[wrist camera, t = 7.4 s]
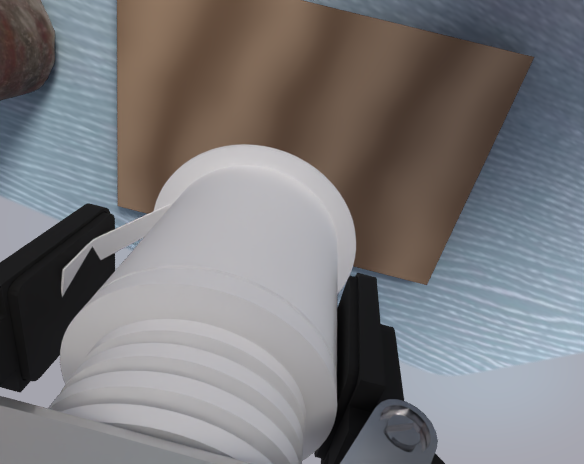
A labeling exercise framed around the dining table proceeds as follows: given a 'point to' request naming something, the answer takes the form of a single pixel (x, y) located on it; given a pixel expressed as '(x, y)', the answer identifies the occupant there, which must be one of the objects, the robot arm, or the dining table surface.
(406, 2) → the dining table surface
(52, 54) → the brown textured cylinder
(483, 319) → the dining table surface
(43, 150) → the dining table surface
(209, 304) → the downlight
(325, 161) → the walnut board
